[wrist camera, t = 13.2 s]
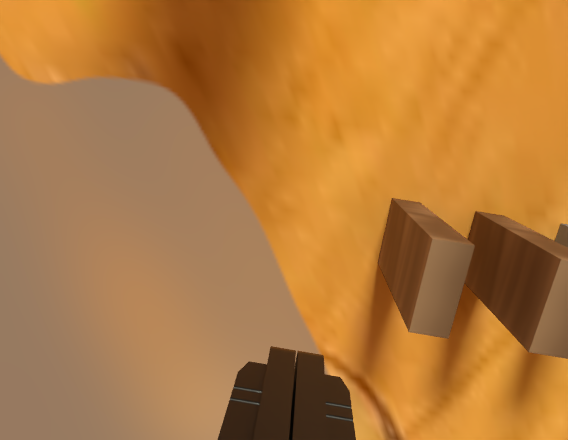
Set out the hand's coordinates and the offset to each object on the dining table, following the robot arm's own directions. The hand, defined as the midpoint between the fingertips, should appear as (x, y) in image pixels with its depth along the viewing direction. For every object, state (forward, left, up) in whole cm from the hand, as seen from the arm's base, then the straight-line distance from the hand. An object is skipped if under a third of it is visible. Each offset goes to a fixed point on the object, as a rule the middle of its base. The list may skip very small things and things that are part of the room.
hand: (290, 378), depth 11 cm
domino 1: (+7, 0, -19) cm, 20 cm away
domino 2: (+13, 0, -19) cm, 23 cm away
